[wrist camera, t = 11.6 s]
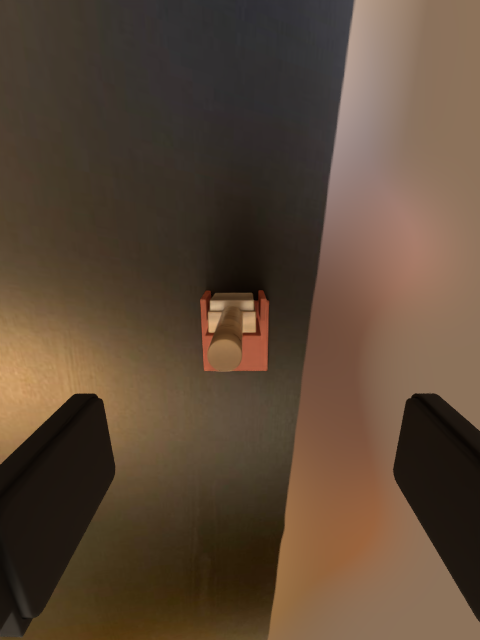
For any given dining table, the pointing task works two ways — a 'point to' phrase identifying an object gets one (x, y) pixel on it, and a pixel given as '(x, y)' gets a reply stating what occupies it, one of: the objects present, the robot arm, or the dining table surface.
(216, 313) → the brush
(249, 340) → the brush stand
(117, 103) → the dining table surface
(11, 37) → the dining table surface
